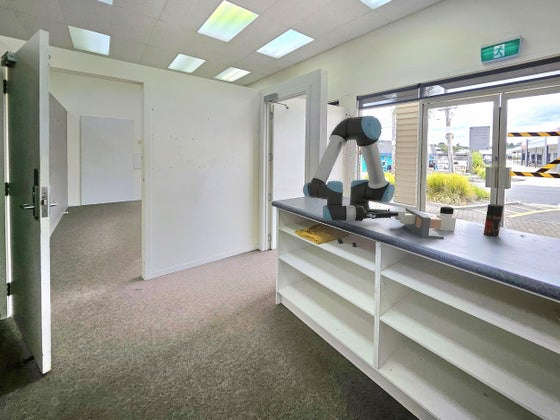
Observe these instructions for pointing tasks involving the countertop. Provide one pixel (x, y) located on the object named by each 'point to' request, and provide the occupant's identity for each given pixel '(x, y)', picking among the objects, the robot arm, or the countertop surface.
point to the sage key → (401, 210)
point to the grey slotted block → (422, 226)
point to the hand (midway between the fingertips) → (404, 213)
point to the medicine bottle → (447, 219)
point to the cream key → (408, 219)
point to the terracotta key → (434, 222)
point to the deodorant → (493, 220)
